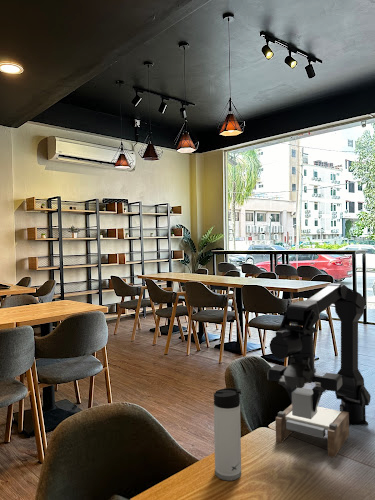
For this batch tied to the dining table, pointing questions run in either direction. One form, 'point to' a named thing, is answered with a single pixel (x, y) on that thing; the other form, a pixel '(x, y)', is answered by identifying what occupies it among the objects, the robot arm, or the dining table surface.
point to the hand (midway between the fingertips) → (304, 409)
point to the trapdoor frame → (335, 432)
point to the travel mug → (227, 433)
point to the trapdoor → (313, 422)
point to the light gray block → (303, 403)
